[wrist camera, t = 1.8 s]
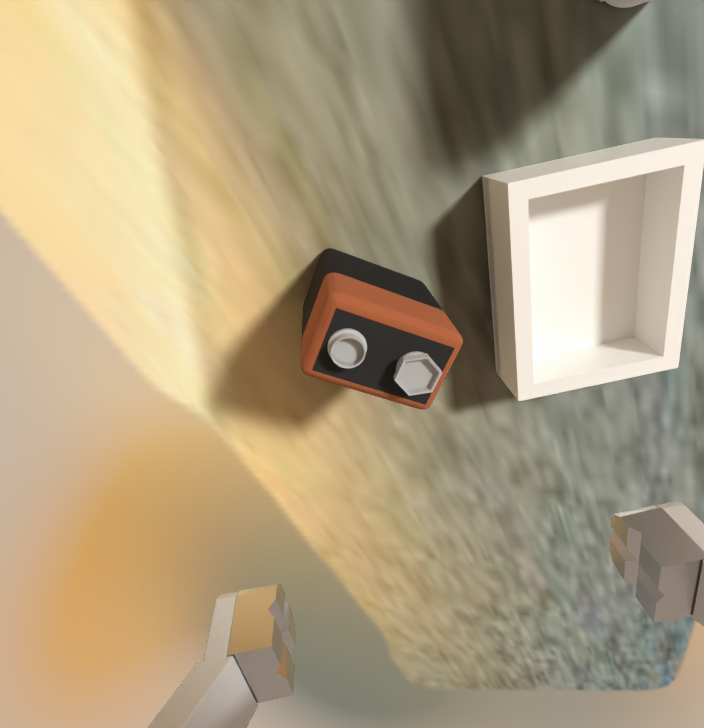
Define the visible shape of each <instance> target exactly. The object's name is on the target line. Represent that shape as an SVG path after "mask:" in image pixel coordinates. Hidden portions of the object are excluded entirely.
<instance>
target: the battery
mask: <svg viewBox="0 0 704 728" xmlns="http://www.w3.org/2000/svg"><path fill="white" fill-rule="evenodd" d="M462 344H463V339H462V336H461V335H460V333H459V332H458V331H457V329H456V328H455V326H454V325H453V324H452V322H451V321H450V319H449V318H448V317H447V315H446V314H445V312H444V311H443V310H442V308H441V307H440V306H439V304H438V303H437V301H436V300H435V299H434V297H433V296H432V294H431V293H430V292H429V290H428V289H427V287H426V286H425V285H424V284H423V282H421V281H419V280H416V279H414V278H411V277H408V276H406V275H403V274H400V273H398V272H395V271H392V270H389V269H387V268H384V267H381V266H379V265H376V264H373V263H370V262H368V261H365V260H362V259H360V258H357V257H354V256H351V255H349V254H346V253H343V252H340V251H338V250H335V249H325V250H324V251H323V253H322V255H321V258H320V260H319V263H318V266H317V269H316V272H315V274H314V277H313V280H312V283H311V286H310V288H309V291H308V294H307V297H306V300H305V302H304V306H303V322H302V345H301V369H302V371H303V372H304V373H305V374H306V375H309V376H311V377H314V378H318V379H321V380H324V381H327V382H331V383H334V384H337V385H341V386H344V387H347V388H351V389H354V390H357V391H361V392H364V393H367V394H371V395H374V396H377V397H381V398H384V399H387V400H391V401H394V402H397V403H401V404H404V405H407V406H411V407H414V408H418V409H427V408H429V407H430V405H431V404H432V402H433V400H434V398H435V396H436V394H437V392H438V390H439V388H440V387H441V385H442V383H443V381H444V379H445V377H446V375H447V373H448V371H449V369H450V367H451V365H452V363H453V362H454V360H455V358H456V356H457V354H458V352H459V350H460V348H461V346H462Z"/></svg>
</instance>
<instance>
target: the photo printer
mask: <svg viewBox="0 0 704 728" xmlns="http://www.w3.org/2000/svg"><path fill="white" fill-rule="evenodd" d="M599 1H601V2H602V1H605V2H606V3H608V4H610V5H612V6H614V7H619V8H628V7H633V6H636V5H639V4H642V3H645V2H648V1H651V0H599Z"/></svg>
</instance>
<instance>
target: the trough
mask: <svg viewBox="0 0 704 728" xmlns="http://www.w3.org/2000/svg"><path fill="white" fill-rule="evenodd" d="M703 166H704V139H684V138H651V139H646V140H642V141H637V142H633V143H628V144H624V145H619V146H615V147H610V148H606V149H601V150H597V151H592V152H588V153H583V154H579V155H574V156H570V157H566V158H561V159H557V160H552V161H548V162H543V163H539V164H534V165H530V166H525V167H521V168H516V169H512V170H507V171H503V172H498V173H494V174H489V175H485V176H482V180H483V194H484V208H485V222H486V236H487V251H488V265H489V279H490V293H491V307H492V321H493V335H494V349H495V363H496V372H497V374H498V375H499V376H500V378H501V379H502V380H503V382H504V383H505V384H506V386H507V387H508V388H509V389H510V391H511V392H512V393H513V395H514V396H515V397H516V399H517V400H518V401H522V400H527V399H532V398H536V397H541V396H546V395H551V394H555V393H560V392H565V391H569V390H574V389H579V388H584V387H588V386H593V385H598V384H602V383H607V382H612V381H617V380H621V379H626V378H631V377H635V376H640V375H645V374H650V373H654V372H659V371H664V370H668V369H673V368H678V364H679V356H680V349H681V341H682V333H683V325H684V317H685V309H686V301H687V293H688V285H689V277H690V269H691V261H692V253H693V246H694V238H695V230H696V222H697V214H698V206H699V198H700V190H701V182H702V174H703Z"/></svg>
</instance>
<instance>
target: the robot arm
mask: <svg viewBox="0 0 704 728" xmlns="http://www.w3.org/2000/svg"><path fill="white" fill-rule="evenodd" d="M611 527H612V529H613V530H614V531H615V534H614V535H613V536H612V538H611V539H610V553H611V556H612V560H613V562H614V564H615V566H616V568H617V570H618V572H619V573H620V575H621V576H622V578H623V579H624V580H625V581H627V582H628V583H630V584H632V585H634V586H636V598H637V600H638V601H639V602H640V604H641V605H642V607H643V608H644V610H645V611H646V612H647V614H648V615H649V617H650V618H651V619H652V621H653V622H654V623H656V622H662V621H668V620H674V619H680V618H686V617H692V616H693V617H692V619H694V620H695V621H697V622H698V623H700V624H701V625H703V626H704V524H703V523H702V522H701V521H700V520H699V519H698V518H697V517H696V516H695V515H694V514H693V513H692V512H691V511H690V510H689V509H688V508H687V507H686V506H685V505H684V504H683V503H680V502H678V501H675V502H670V503H665V504H661V505H656V506H649V507H645V508H640V509H636V510H631V511H626V512H622V513H617V514H614V515H613V516H612V518H611ZM284 597H285V592H284V590H283V588H282V586H281V584H275V585H270V586H264V587H258V588H253V589H246V590H241V591H236V592H231V593H226V594H220V595H219V596H218V598H217V600H216V602H215V606H214V611H213V616H212V620H211V625H210V630H209V635H208V640H207V644H206V649H205V654H204V659H203V662H199V663H196V665H195V666H194V667H193V669H192V670H191V671H190V672H189V674H188V675H187V676H186V678H185V679H184V681H183V682H182V683H181V684H180V686H179V687H178V688H177V690H176V691H175V692H174V694H173V695H172V696H171V697H170V699H169V700H168V701H167V703H166V704H165V705H164V707H163V708H162V709H161V711H160V712H159V713H158V714H157V716H156V717H155V718H154V720H153V721H152V723H151V724H150V725H149V726H148V728H247V726H248V724H249V722H250V720H251V718H252V716H253V714H254V712H255V710H256V709H257V707H258V704H257V703H260V702H265V701H269V700H273V699H278V698H282V697H286V696H290V695H293V692H294V667H295V665H294V663H293V660H292V658H291V655H290V654H291V652H292V651H293V649H294V647H295V624H294V618H293V614H292V611H291V608H290V605H289V604H287V603H285V602H284Z"/></svg>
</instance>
